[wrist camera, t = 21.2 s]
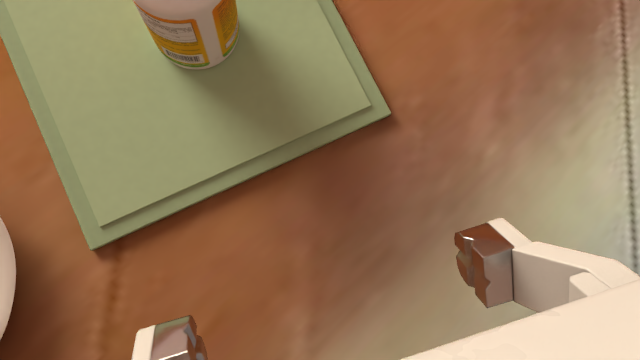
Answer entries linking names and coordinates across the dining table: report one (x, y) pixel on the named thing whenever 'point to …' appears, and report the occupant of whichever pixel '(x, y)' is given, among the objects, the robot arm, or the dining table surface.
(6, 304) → the white spork utensil
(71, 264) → the dining table surface
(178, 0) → the supplement bottle
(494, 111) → the dining table surface
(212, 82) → the placemat
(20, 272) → the dining table surface
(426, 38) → the dining table surface
